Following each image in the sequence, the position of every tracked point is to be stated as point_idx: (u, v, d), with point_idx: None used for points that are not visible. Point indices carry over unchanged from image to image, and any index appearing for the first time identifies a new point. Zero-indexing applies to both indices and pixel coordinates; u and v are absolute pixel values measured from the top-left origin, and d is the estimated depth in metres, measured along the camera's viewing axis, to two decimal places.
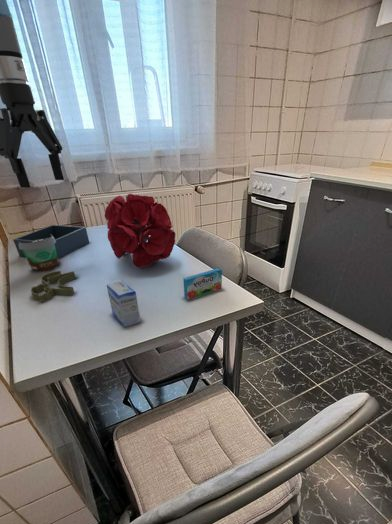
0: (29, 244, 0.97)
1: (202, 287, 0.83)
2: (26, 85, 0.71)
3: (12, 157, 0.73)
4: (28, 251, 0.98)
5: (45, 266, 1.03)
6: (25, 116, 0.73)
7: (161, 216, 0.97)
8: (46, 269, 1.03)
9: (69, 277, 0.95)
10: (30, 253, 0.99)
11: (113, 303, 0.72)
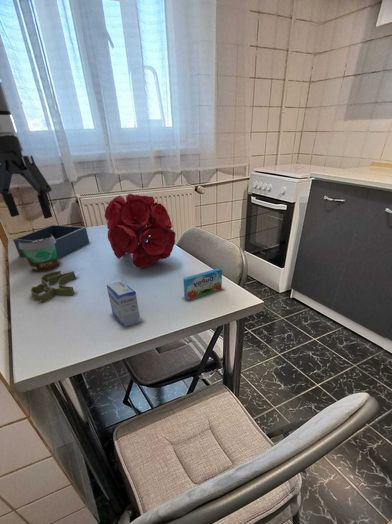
0: (29, 244, 0.97)
1: (202, 287, 0.83)
2: None
3: (46, 193, 0.89)
4: (28, 251, 0.98)
5: (45, 266, 1.03)
6: None
7: (161, 216, 0.97)
8: (46, 269, 1.03)
9: (69, 277, 0.95)
10: (30, 253, 0.99)
11: (113, 303, 0.72)
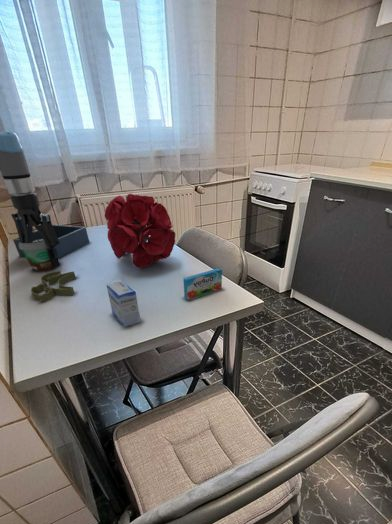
0: (29, 244, 0.96)
1: (202, 287, 0.83)
2: None
3: None
4: (28, 251, 0.98)
5: (46, 266, 1.03)
6: None
7: (161, 216, 0.97)
8: (46, 269, 1.03)
9: (69, 277, 0.95)
10: (31, 254, 0.99)
11: (113, 303, 0.72)
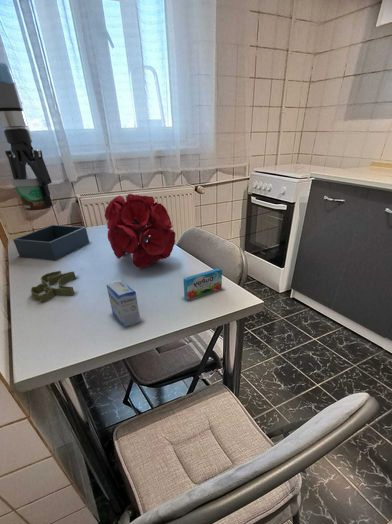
0: (22, 180, 1.01)
1: (202, 287, 0.83)
2: None
3: None
4: (22, 188, 1.03)
5: (38, 205, 1.07)
6: None
7: (161, 216, 0.97)
8: (39, 208, 1.08)
9: (69, 277, 0.95)
10: (24, 191, 1.04)
11: (113, 303, 0.72)
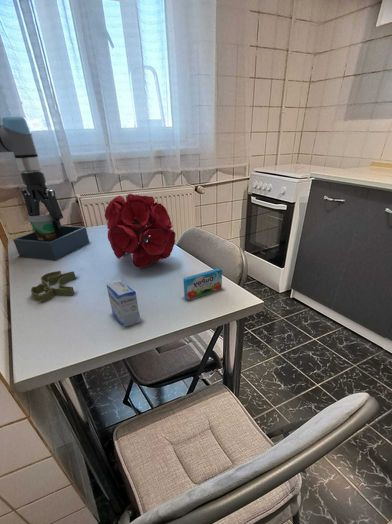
0: (37, 217, 1.11)
1: (202, 287, 0.83)
2: None
3: None
4: (36, 223, 1.13)
5: (51, 237, 1.17)
6: None
7: (161, 216, 0.97)
8: (51, 240, 1.18)
9: (69, 277, 0.95)
10: (38, 225, 1.13)
11: (113, 303, 0.72)
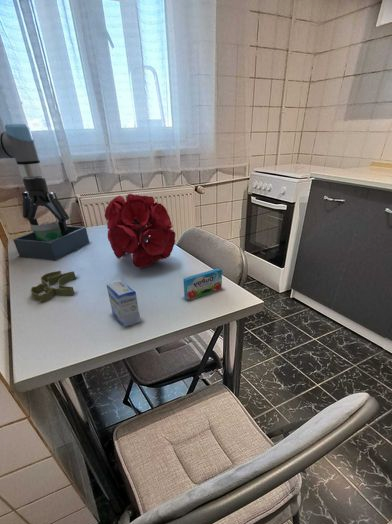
0: (40, 226, 1.13)
1: (202, 287, 0.83)
2: None
3: None
4: (39, 232, 1.15)
5: None
6: None
7: (161, 216, 0.97)
8: None
9: (69, 277, 0.95)
10: (41, 234, 1.15)
11: (113, 303, 0.72)
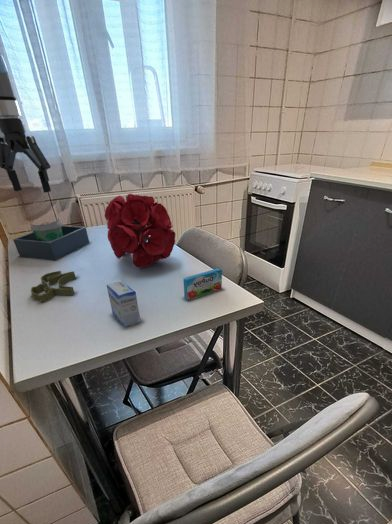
0: (40, 226, 1.13)
1: (202, 287, 0.83)
2: None
3: (46, 169, 1.03)
4: (39, 232, 1.15)
5: None
6: None
7: (161, 216, 0.97)
8: None
9: (69, 277, 0.95)
10: (41, 234, 1.15)
11: (113, 303, 0.72)
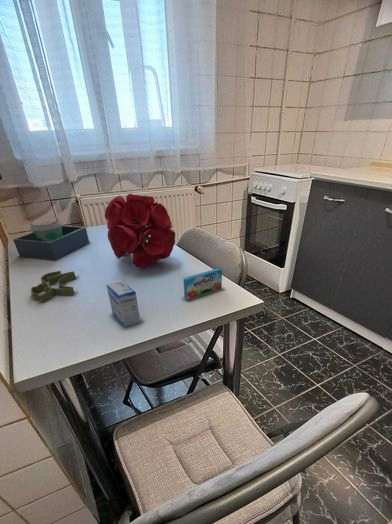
0: (40, 226, 1.13)
1: (202, 287, 0.83)
2: None
3: None
4: (39, 232, 1.15)
5: None
6: None
7: (161, 216, 0.97)
8: None
9: (69, 277, 0.95)
10: (41, 234, 1.15)
11: (113, 303, 0.72)
